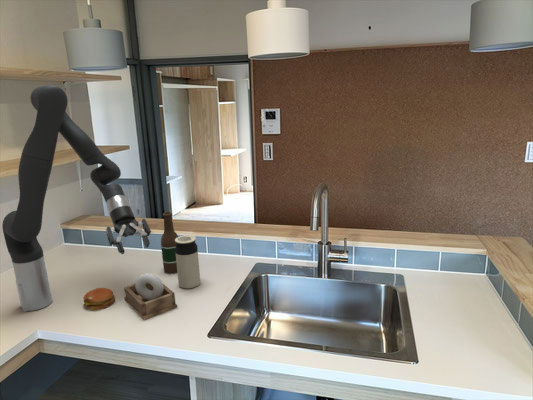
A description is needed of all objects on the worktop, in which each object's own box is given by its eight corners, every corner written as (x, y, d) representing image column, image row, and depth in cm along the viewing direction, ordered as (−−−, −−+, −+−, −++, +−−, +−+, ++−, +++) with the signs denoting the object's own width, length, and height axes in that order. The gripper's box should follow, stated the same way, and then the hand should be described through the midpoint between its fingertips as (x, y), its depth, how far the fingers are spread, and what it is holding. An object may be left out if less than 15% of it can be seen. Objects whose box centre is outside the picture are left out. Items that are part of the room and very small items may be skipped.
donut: (135, 301, 138) (131, 274, 136) (140, 296, 141) (136, 270, 139) (162, 304, 136) (159, 276, 133) (166, 298, 139) (163, 272, 137)
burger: (119, 296, 144) (117, 284, 143) (108, 310, 135) (106, 298, 134) (91, 297, 145) (89, 285, 143) (79, 311, 136) (77, 298, 134)
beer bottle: (185, 265, 168) (180, 209, 161) (179, 274, 160) (173, 215, 154) (166, 265, 169) (161, 209, 162) (160, 273, 161) (153, 215, 155)
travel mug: (185, 291, 146) (180, 244, 142) (174, 283, 152) (170, 238, 147) (204, 284, 151) (200, 238, 146) (193, 277, 157) (189, 233, 152)
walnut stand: (143, 320, 129) (142, 305, 127) (124, 299, 142) (122, 286, 140) (177, 307, 135) (176, 293, 134) (156, 289, 149) (154, 276, 147)
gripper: (100, 209, 139) (116, 250, 133) (141, 201, 147) (157, 239, 141) (98, 220, 144) (113, 260, 139) (137, 212, 153) (153, 249, 147)
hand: (135, 249), depth 140 cm, fingers open, 8 cm apart
